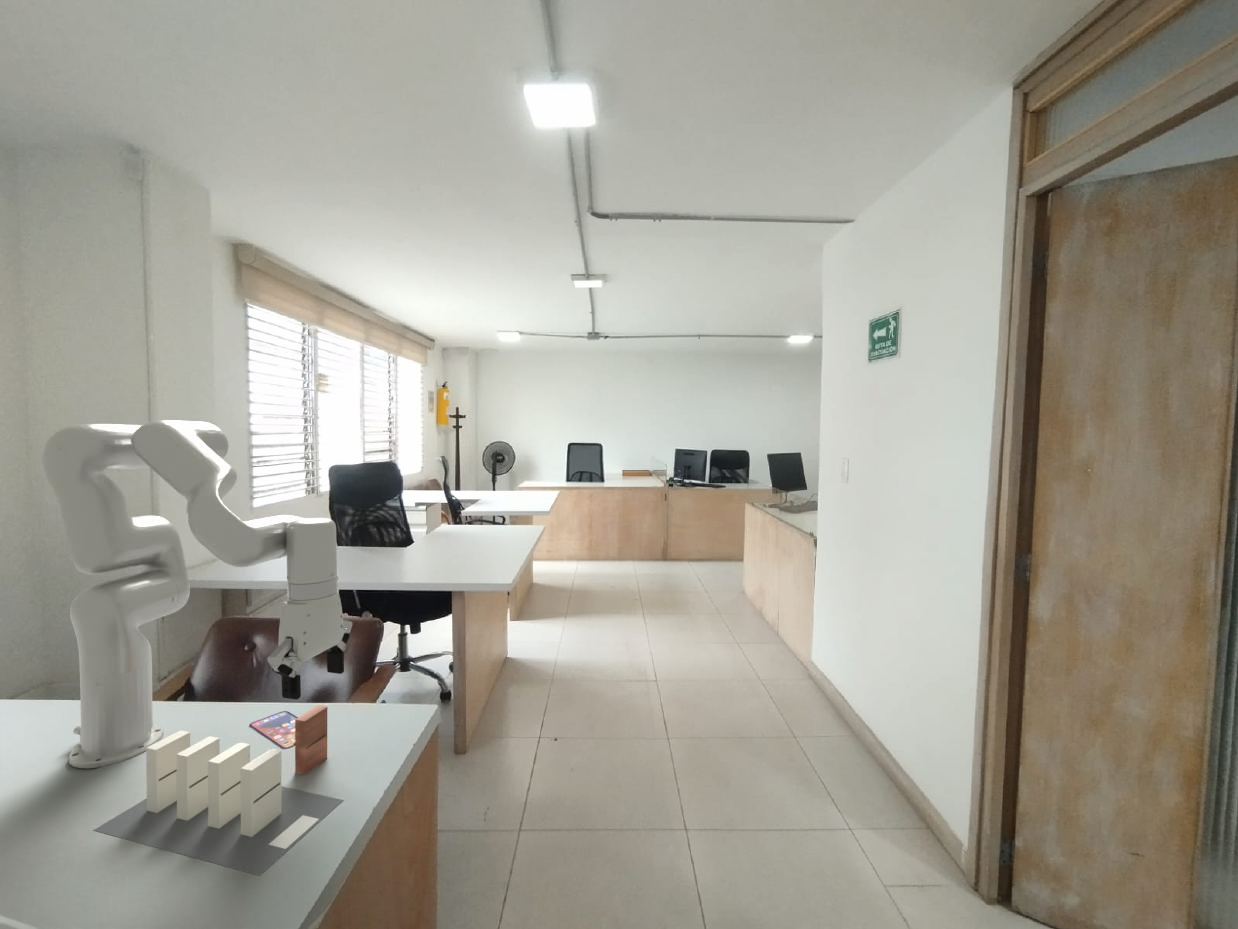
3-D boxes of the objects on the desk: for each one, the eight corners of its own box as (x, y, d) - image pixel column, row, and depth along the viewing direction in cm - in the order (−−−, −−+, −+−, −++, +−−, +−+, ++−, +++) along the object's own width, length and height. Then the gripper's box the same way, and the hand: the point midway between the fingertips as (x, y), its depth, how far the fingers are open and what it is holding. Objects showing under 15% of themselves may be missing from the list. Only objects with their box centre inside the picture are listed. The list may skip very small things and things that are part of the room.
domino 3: (208, 826, 77) (207, 761, 77) (239, 803, 82) (239, 742, 82) (219, 829, 77) (218, 763, 76) (250, 806, 82) (250, 744, 81)
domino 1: (146, 810, 80) (145, 747, 80) (180, 789, 85) (180, 730, 84) (157, 813, 80) (156, 750, 79) (190, 791, 84) (190, 732, 84)
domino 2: (176, 818, 79) (176, 754, 78) (209, 796, 84) (209, 736, 83) (187, 821, 78) (187, 756, 78) (220, 798, 83) (219, 738, 83)
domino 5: (294, 775, 90) (294, 719, 90) (317, 758, 95) (317, 705, 94) (305, 777, 90) (305, 721, 89) (327, 760, 94) (327, 706, 94)
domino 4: (240, 834, 76) (240, 768, 75) (270, 810, 81) (270, 748, 80) (252, 837, 75) (251, 770, 75) (281, 813, 80) (281, 750, 80)
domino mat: (93, 833, 76) (93, 830, 76) (197, 770, 90) (197, 767, 90) (260, 879, 69) (259, 875, 69) (343, 803, 84) (343, 800, 84)
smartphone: (285, 714, 110) (324, 737, 102) (246, 729, 104) (283, 755, 96) (285, 709, 110) (324, 732, 102) (246, 724, 104) (284, 750, 96)
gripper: (332, 575, 100) (334, 662, 101) (249, 602, 83) (252, 706, 84) (366, 577, 98) (367, 666, 99) (288, 606, 81) (290, 712, 82)
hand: (314, 684), depth 91 cm, fingers open, 9 cm apart
